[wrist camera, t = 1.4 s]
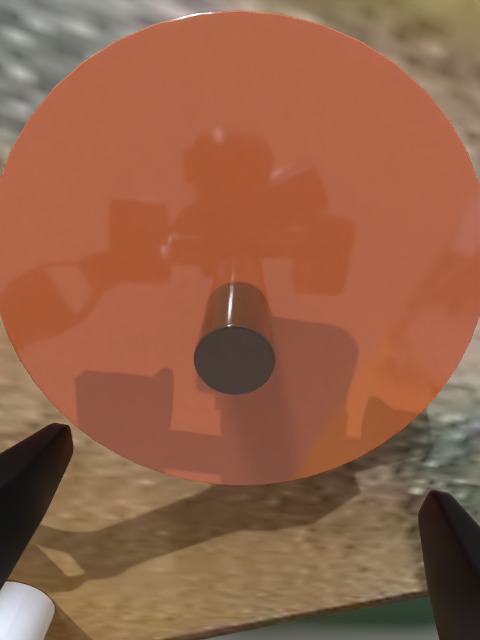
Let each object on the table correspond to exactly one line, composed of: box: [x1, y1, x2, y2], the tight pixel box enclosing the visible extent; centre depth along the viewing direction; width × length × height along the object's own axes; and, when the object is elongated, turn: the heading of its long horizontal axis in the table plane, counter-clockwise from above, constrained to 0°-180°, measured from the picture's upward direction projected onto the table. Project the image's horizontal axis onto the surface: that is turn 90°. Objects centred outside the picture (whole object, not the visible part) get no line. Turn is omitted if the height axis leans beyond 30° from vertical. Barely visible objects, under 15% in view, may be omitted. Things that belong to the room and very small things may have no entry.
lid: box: [0, 10, 480, 485], centre depth 15 cm, size 20×20×5 cm
